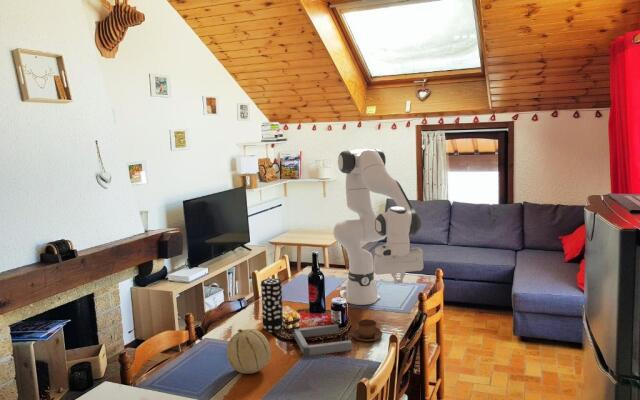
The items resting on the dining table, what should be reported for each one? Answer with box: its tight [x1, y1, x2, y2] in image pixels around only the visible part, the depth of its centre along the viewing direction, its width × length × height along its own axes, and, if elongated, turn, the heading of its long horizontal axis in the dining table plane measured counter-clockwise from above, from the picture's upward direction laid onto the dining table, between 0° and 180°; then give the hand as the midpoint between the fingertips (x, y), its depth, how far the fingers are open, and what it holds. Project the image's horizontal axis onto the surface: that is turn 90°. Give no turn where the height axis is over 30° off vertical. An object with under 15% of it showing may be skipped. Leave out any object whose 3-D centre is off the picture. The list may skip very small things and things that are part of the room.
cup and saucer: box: [351, 318, 383, 342], centre depth 206 cm, size 12×12×6 cm
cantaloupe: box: [226, 328, 272, 375], centre depth 179 cm, size 15×15×15 cm
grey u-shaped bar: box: [293, 323, 353, 357], centre depth 201 cm, size 19×18×3 cm
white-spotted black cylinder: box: [260, 278, 284, 333], centre depth 216 cm, size 8×8×20 cm
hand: (398, 283), depth 206 cm, fingers closed
